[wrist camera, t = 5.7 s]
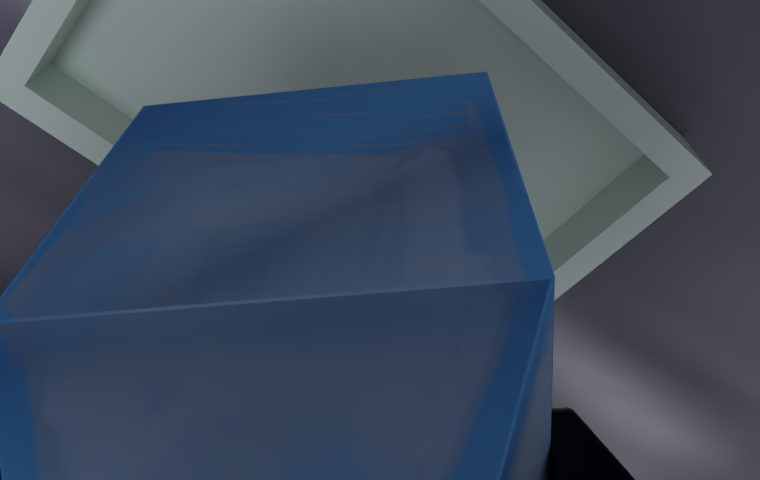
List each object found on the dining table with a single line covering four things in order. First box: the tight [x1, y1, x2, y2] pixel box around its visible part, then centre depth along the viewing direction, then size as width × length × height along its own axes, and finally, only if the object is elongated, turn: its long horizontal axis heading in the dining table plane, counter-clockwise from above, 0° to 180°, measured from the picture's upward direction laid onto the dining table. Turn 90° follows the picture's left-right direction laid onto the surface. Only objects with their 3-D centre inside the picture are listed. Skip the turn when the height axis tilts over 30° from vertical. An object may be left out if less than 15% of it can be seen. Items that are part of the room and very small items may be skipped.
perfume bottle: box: [0, 71, 555, 480], centre depth 9 cm, size 6×6×12 cm
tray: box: [0, 0, 712, 301], centre depth 20 cm, size 16×11×2 cm, turn 50°
